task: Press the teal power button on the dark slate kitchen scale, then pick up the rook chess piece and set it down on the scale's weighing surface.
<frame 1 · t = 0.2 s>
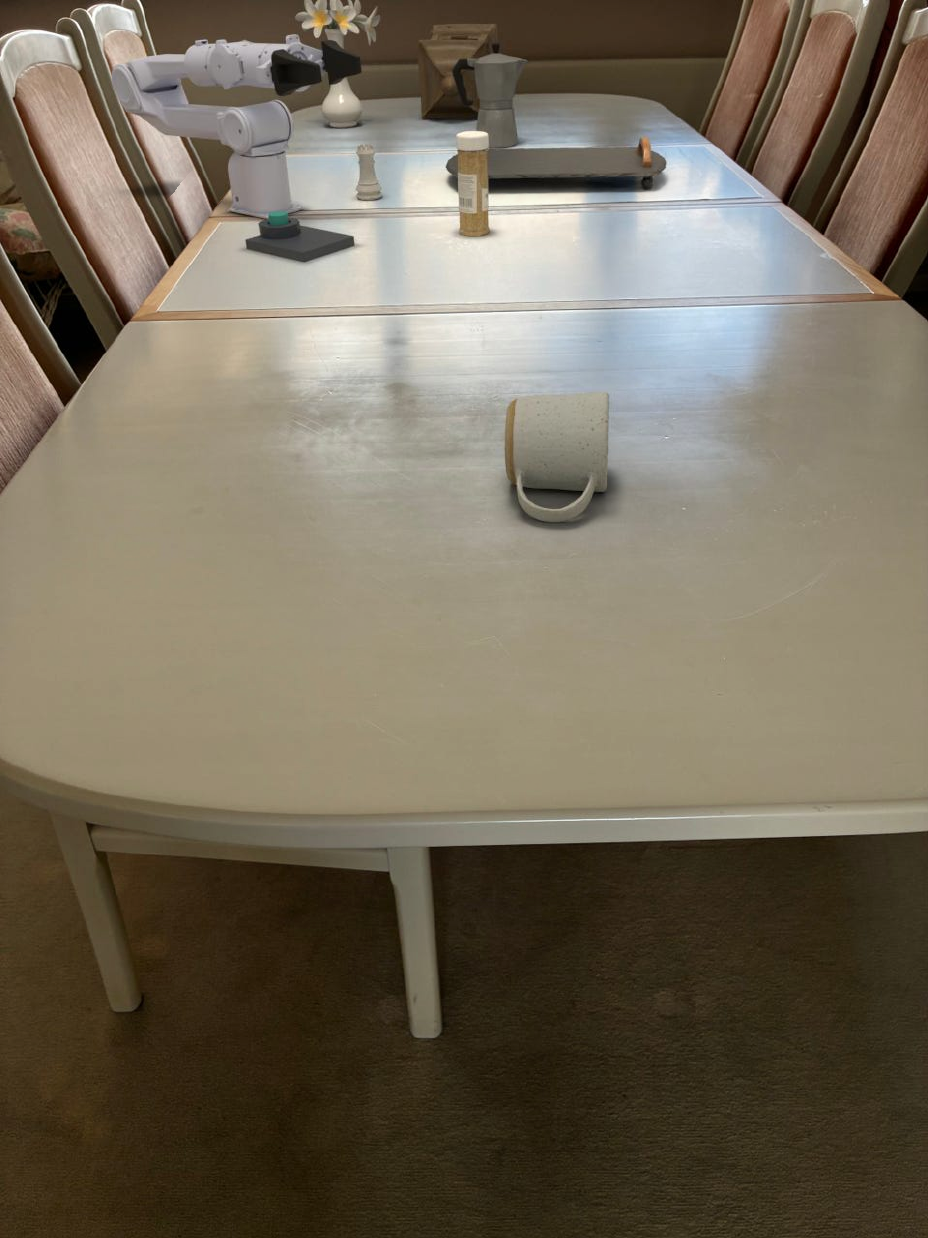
hand: (339, 69, 133), 21 cm above the table, tool horizontal, fingers open, 7 cm apart
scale: (300, 247, 138), on the table
sprinkles bottle: (474, 234, 142), on the table
coffeepot: (491, 145, 197), on the table
ceramic mug: (559, 494, 78), on the table
serving tray: (555, 178, 171), on the table
rook chess piece: (369, 198, 162), on the table
scale button: (278, 218, 138), point 3 cm above the table, slide at 0.1 cm
flower vase: (346, 125, 221), on the table
ornamental box: (457, 114, 230), on the table
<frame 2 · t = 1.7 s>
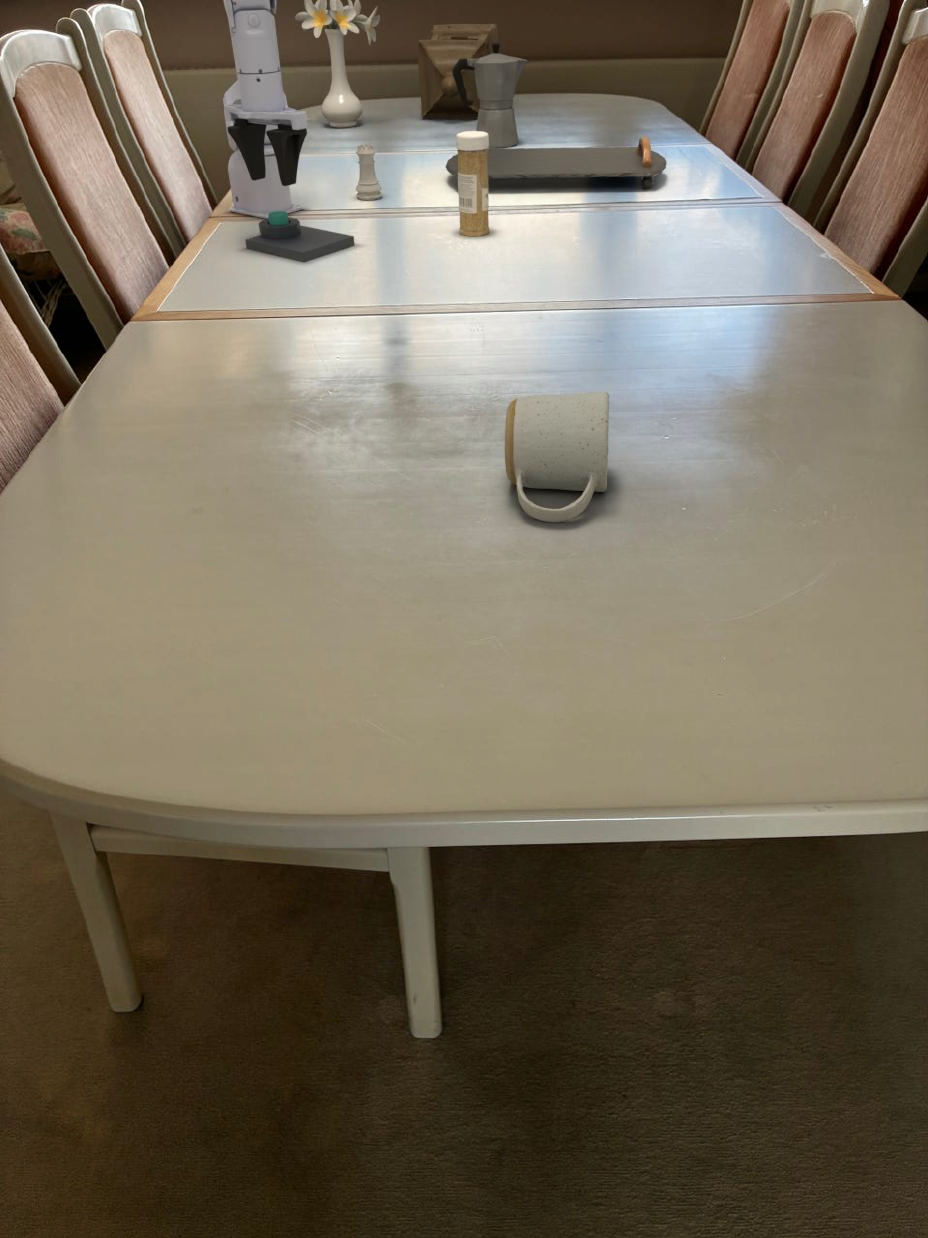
hand: (273, 181, 135), 8 cm above the table, tool pointing down, fingers open, 6 cm apart
nothing on the table moved.
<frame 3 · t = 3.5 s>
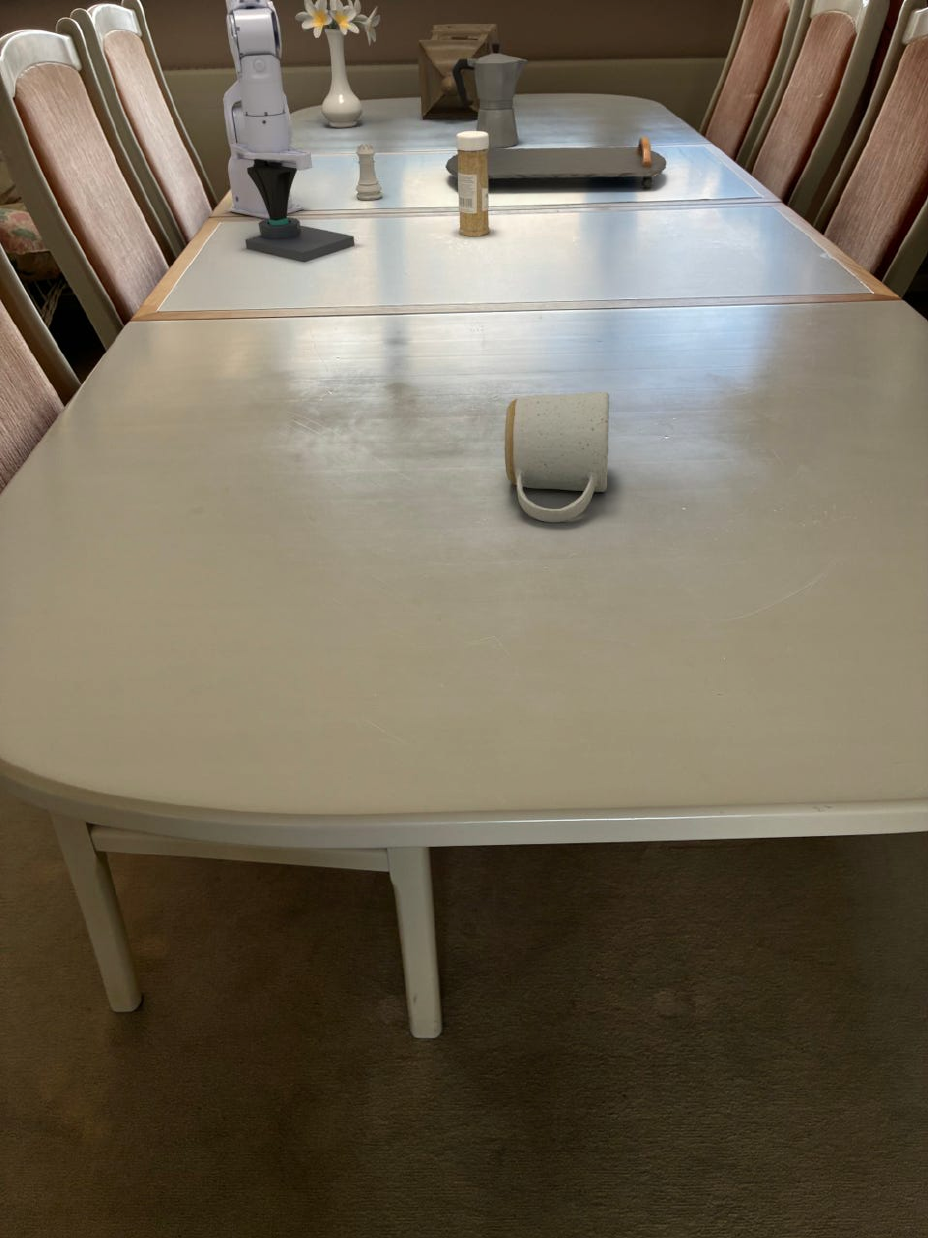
hand: (278, 218, 138), 3 cm above the table, tool pointing down, fingers closed, pressing on scale button
scale button: (279, 224, 138), point 3 cm above the table, slide at -0.6 cm, touching gripper
everything else where it was.
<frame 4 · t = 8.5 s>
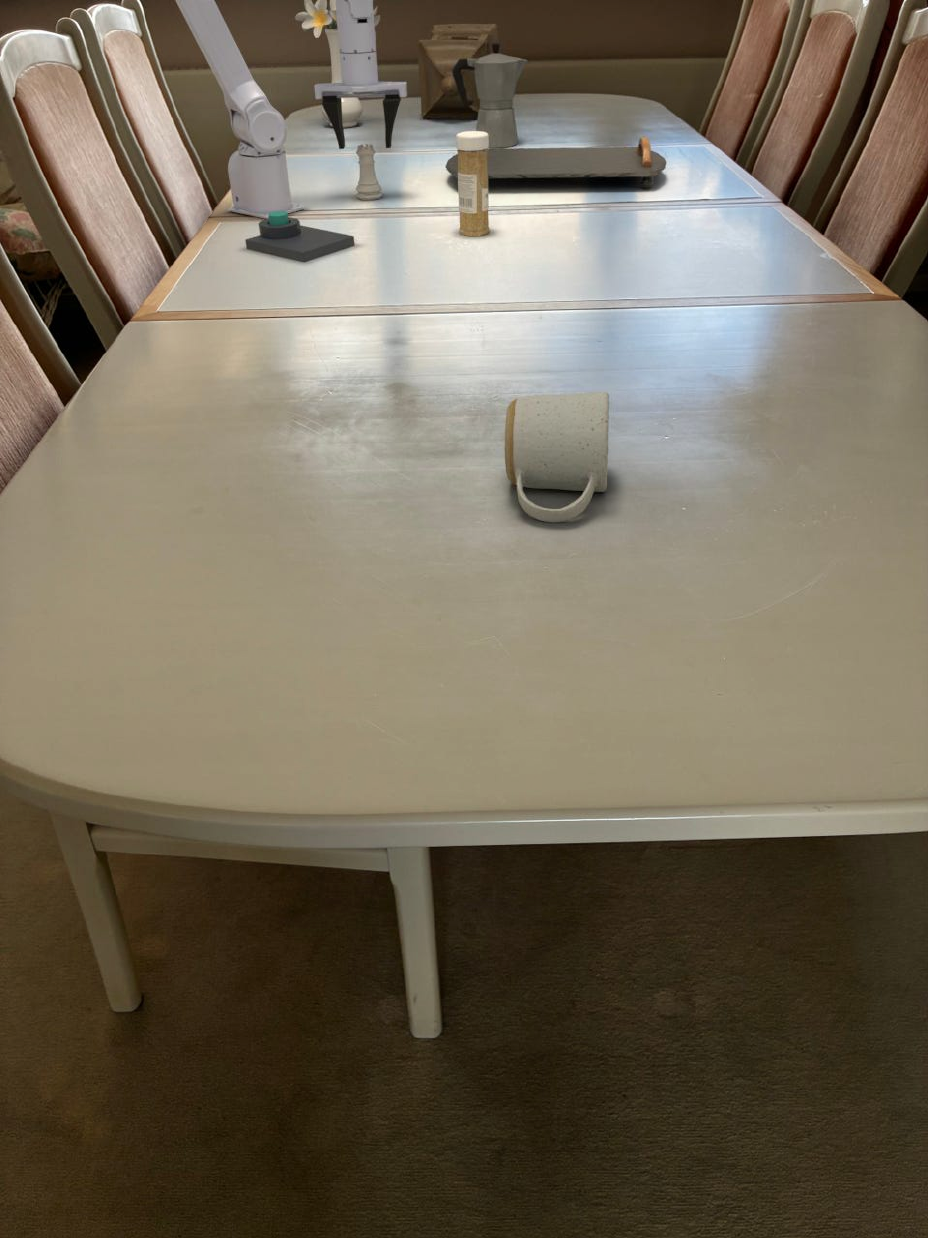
hand: (365, 147, 157), 8 cm above the table, tool pointing down, fingers open, 7 cm apart
scale button: (278, 218, 138), point 3 cm above the table, slide at 0.1 cm
everything else where it was.
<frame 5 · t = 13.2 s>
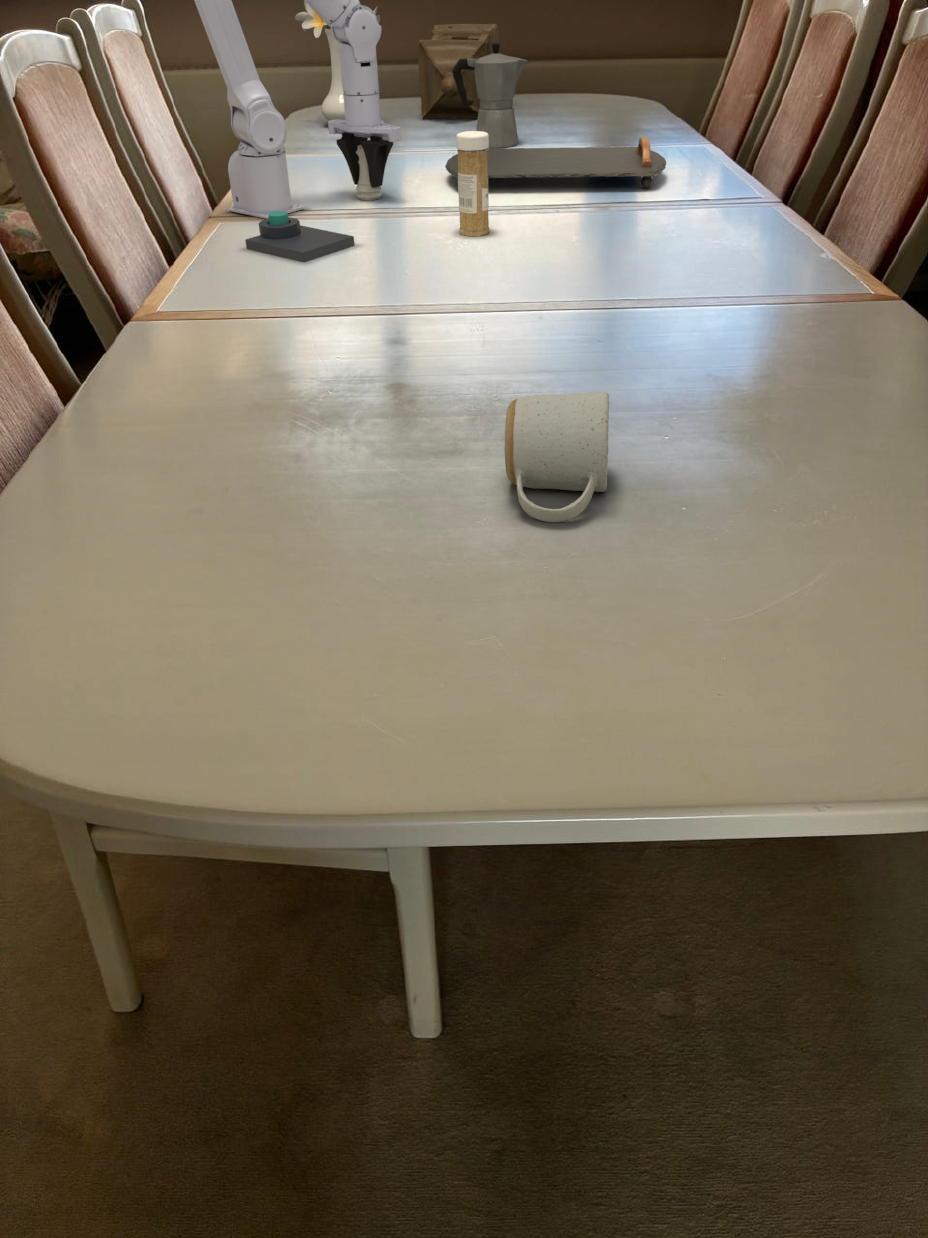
hand: (368, 184, 161), 2 cm above the table, tool pointing down, fingers closed on rook chess piece, 3 cm apart
rook chess piece: (369, 198, 162), on the table, touching gripper
everything else where it was.
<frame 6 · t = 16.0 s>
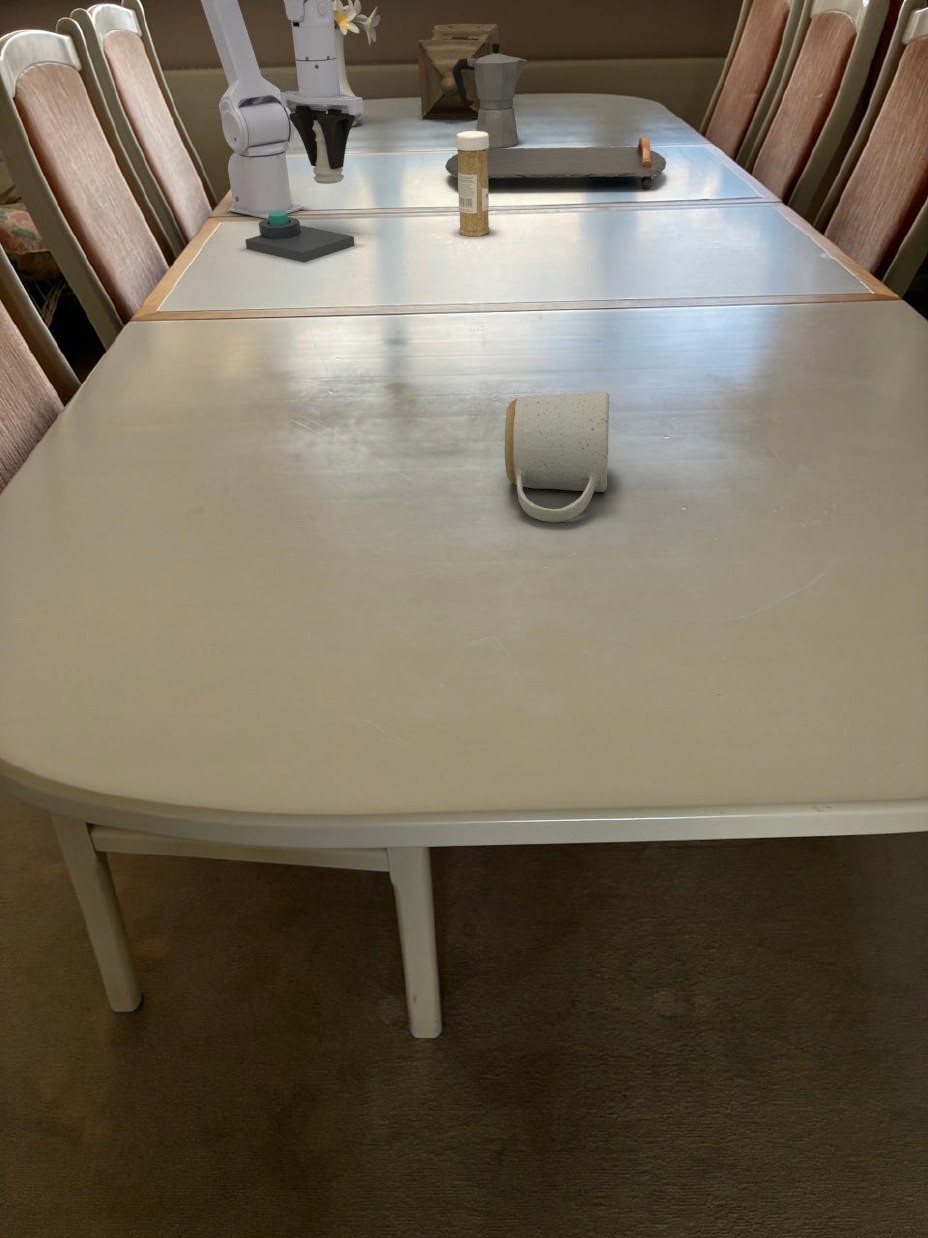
hand: (327, 166, 139), 9 cm above the table, tool pointing down, fingers closed on rook chess piece, 3 cm apart
rook chess piece: (329, 182, 141), point 7 cm above the table, touching gripper
everything else where it was.
when the fingers open (3 cm above the table, at t = 18.9 s): rook chess piece stays where it is, resting on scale.
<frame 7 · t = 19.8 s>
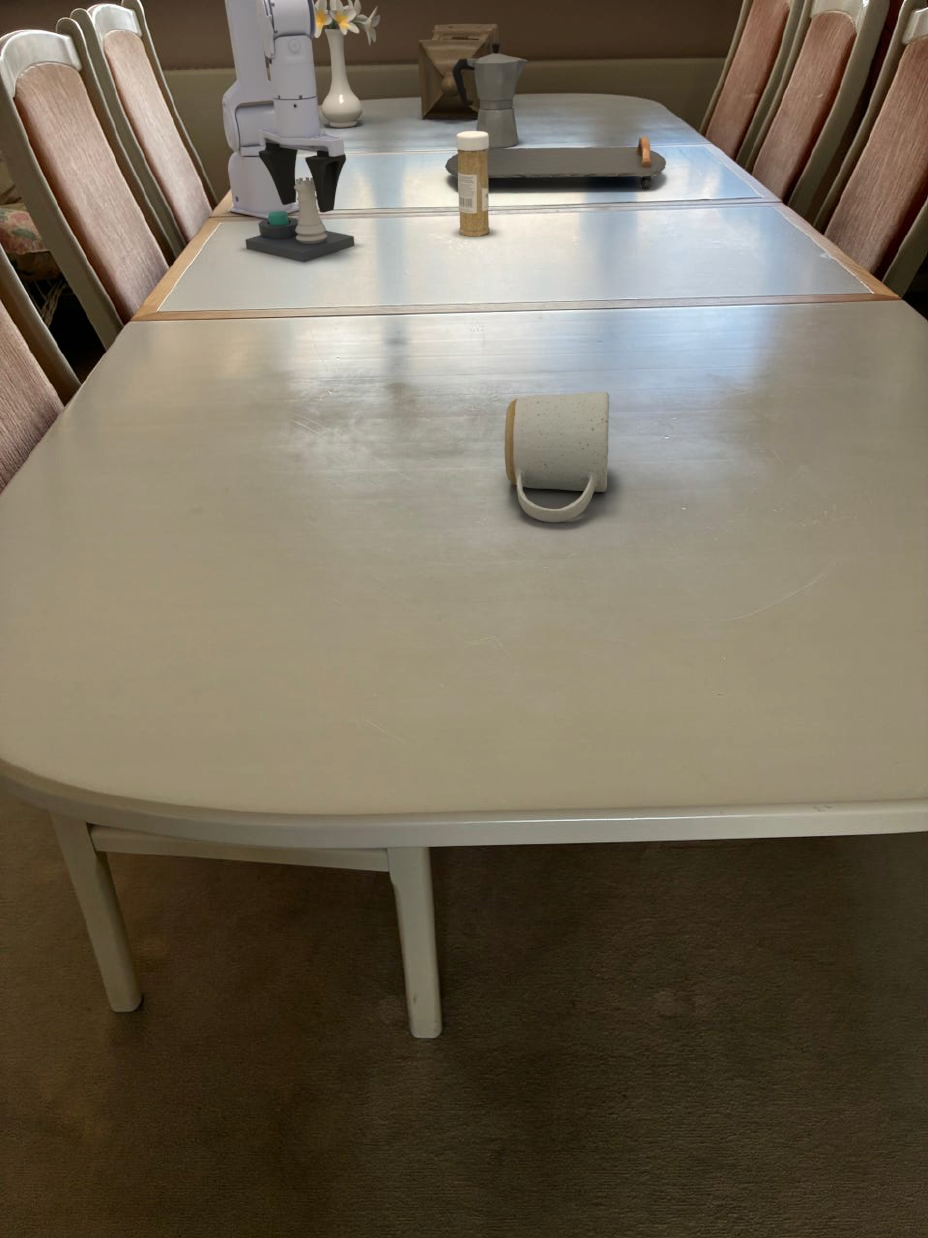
hand: (307, 206, 133), 6 cm above the table, tool pointing down, fingers open, 7 cm apart
rook chess piece: (312, 241, 136), point 1 cm above the table, touching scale
everything else where it was.
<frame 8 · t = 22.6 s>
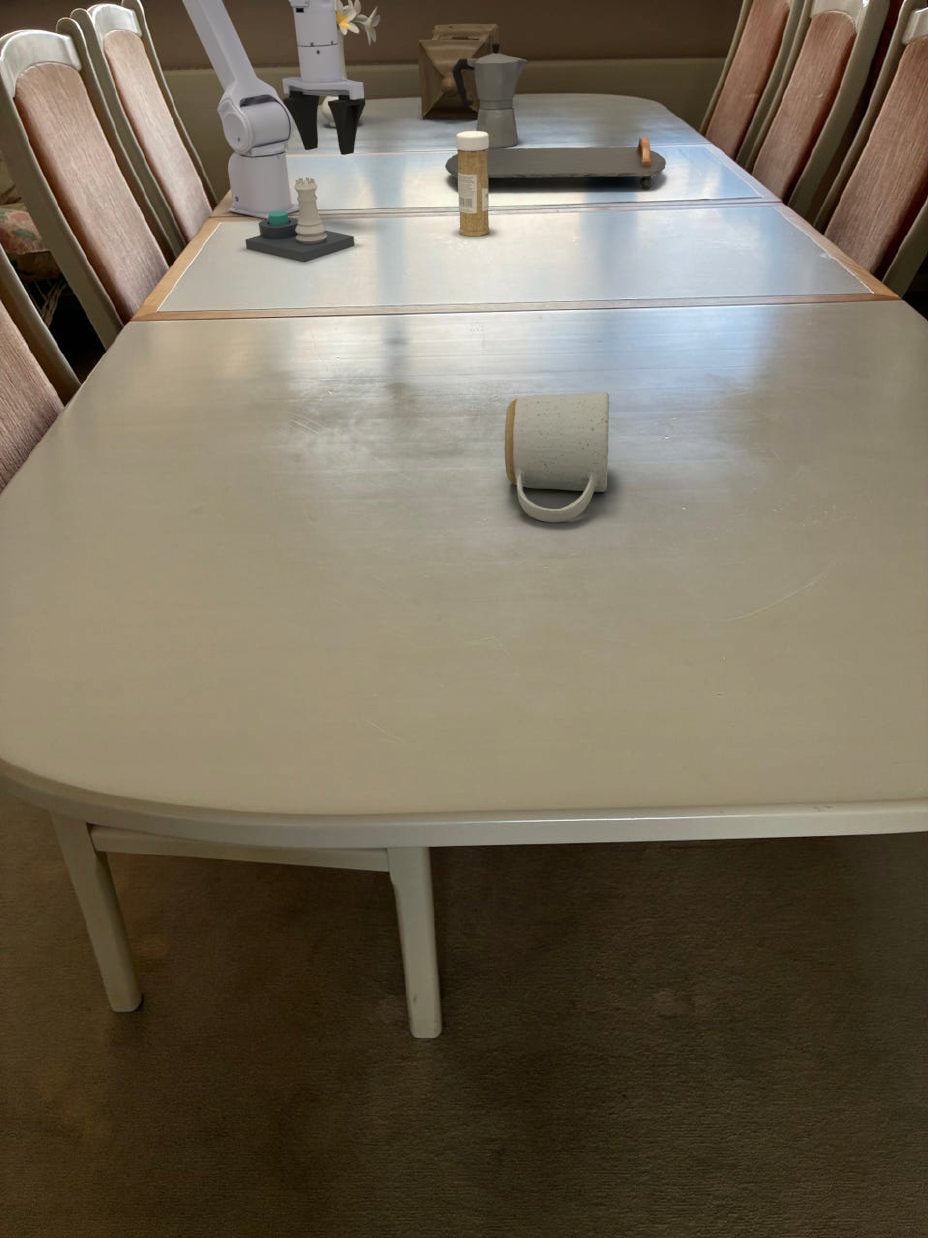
hand: (329, 151, 142), 10 cm above the table, tool pointing down, fingers open, 7 cm apart
nothing on the table moved.
at the end: scale button pushed in 1.0 cm at the most during the clip, back to where it started at the end; rook chess piece inside the target area on the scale (0.1 cm from its centre), point 1.2 cm above the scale's base; rook chess piece touching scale; rook chess piece tilted 0° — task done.
